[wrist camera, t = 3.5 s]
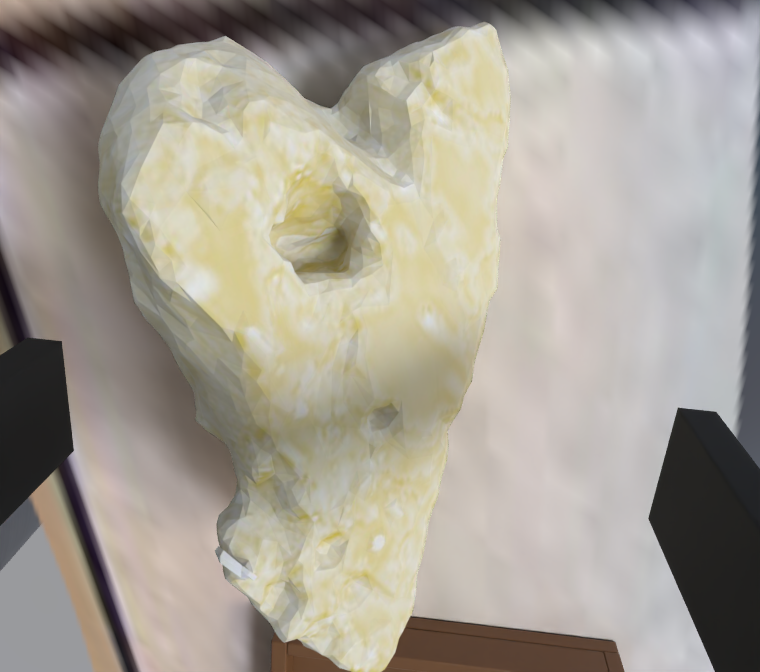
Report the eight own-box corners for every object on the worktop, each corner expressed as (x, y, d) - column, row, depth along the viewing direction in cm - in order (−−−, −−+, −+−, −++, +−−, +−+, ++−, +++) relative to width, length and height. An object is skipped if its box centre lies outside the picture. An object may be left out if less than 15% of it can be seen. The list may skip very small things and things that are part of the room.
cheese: (257, -64, 21) (-166, 296, 16) (418, -168, 15) (-165, 345, 10) (482, 288, 29) (253, 597, 24) (641, 307, 23) (384, 717, 18)
